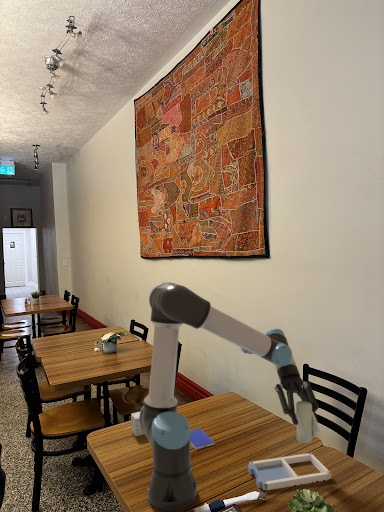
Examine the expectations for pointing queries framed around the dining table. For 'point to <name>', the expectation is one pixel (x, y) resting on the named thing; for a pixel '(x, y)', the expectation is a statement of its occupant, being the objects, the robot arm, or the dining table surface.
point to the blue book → (200, 439)
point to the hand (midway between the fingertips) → (309, 433)
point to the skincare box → (136, 424)
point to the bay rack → (285, 472)
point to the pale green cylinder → (305, 421)
